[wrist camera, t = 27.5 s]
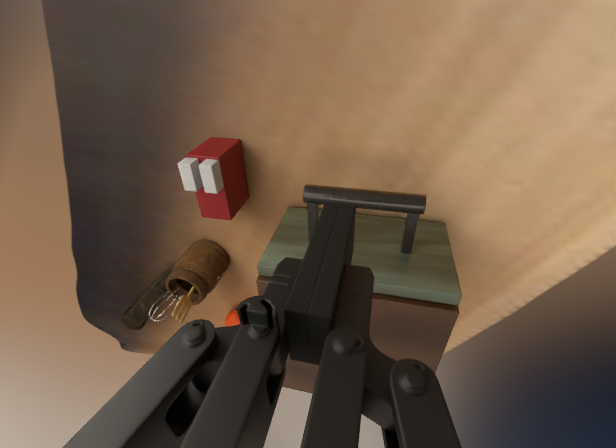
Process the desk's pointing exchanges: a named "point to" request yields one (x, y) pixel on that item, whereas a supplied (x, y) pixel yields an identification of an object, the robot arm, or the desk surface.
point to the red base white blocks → (216, 177)
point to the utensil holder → (195, 275)
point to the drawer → (377, 243)
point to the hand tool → (146, 303)
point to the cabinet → (389, 334)
